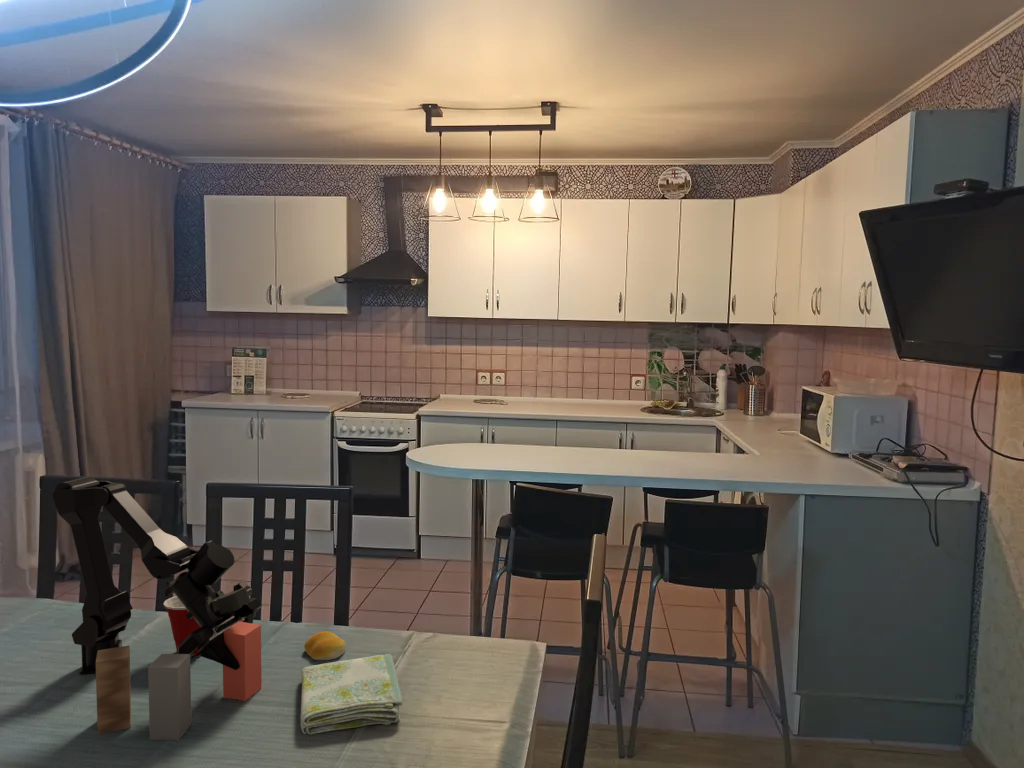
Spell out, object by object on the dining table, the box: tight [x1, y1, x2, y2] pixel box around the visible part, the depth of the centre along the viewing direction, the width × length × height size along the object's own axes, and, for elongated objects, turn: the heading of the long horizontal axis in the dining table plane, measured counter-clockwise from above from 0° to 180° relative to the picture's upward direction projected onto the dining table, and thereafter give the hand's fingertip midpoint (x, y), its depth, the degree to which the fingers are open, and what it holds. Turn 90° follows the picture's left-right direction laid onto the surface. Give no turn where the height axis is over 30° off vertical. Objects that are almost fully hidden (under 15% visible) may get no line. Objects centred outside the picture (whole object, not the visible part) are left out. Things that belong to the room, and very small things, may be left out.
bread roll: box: [303, 630, 346, 661], centre depth 158 cm, size 8×9×4 cm
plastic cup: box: [163, 595, 200, 658], centre depth 157 cm, size 11×11×12 cm
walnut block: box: [95, 645, 132, 735], centre depth 128 cm, size 5×5×13 cm
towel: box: [299, 653, 403, 735], centre depth 138 cm, size 18×21×5 cm
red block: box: [222, 622, 262, 702], centre depth 140 cm, size 5×5×13 cm
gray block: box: [147, 653, 192, 741], centre depth 126 cm, size 5×5×13 cm
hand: (248, 661), depth 139 cm, fingers open, 6 cm apart
